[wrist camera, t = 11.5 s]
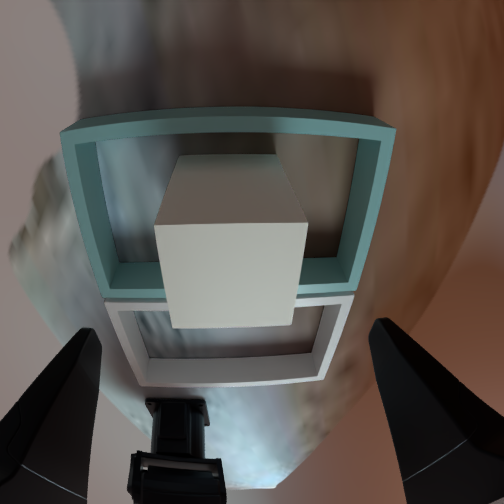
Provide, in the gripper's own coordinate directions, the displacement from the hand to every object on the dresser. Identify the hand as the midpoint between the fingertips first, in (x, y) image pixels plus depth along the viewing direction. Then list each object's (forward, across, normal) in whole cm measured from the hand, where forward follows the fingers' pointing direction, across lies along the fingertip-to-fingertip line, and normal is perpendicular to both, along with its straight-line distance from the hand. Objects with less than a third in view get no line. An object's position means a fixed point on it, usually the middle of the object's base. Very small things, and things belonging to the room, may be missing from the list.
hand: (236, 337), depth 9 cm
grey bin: (+10, 0, +10) cm, 14 cm away
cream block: (+10, 0, 0) cm, 10 cm away
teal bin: (+10, 0, 0) cm, 10 cm away
